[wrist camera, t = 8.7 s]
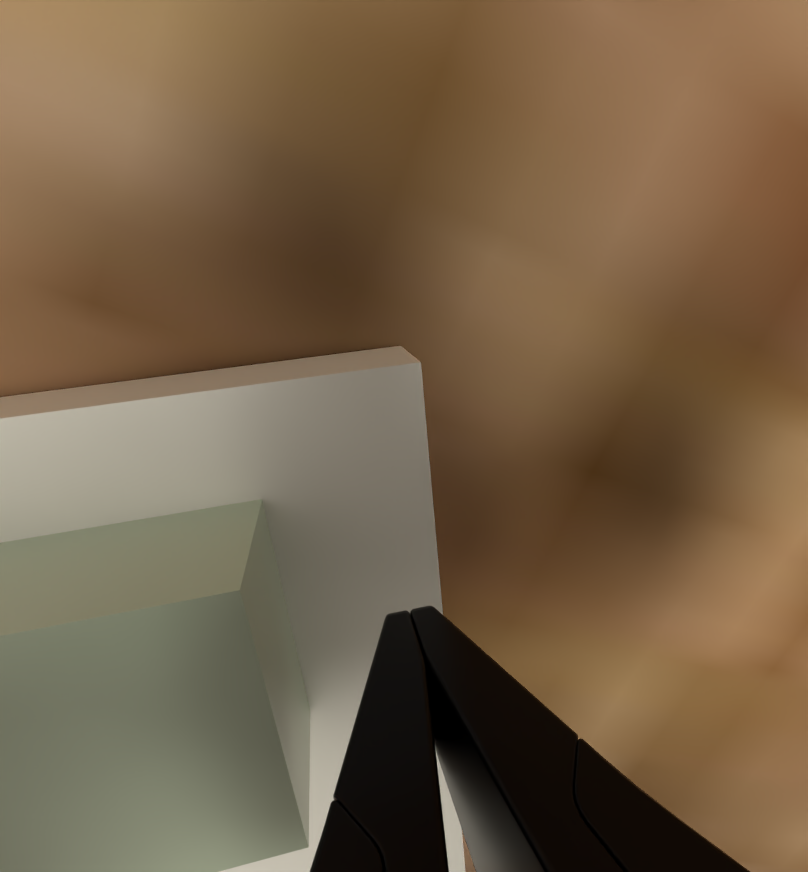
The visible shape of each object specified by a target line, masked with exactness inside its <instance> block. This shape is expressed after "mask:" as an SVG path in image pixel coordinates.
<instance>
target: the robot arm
mask: <svg viewBox="0 0 808 872" xmlns="http://www.w3.org/2000/svg"><path fill="white" fill-rule="evenodd" d="M436 753H437V756H438V759H439V763H440V766H441V769H442V772H443V774H444V777H445V780H446V783H447V786H448V789H449V792H450V795H451V798H452V801H453V804H454V807H455V810H456V813H457V816H458V819H459V822H460V825H461V828H462V831H463V834H464V837H465V840H466V843H467V846H468V849H469V852H470V855H471V858H472V861H473V864H474V867H475V870H476V872H750V871H749V870H747V869H746V868H744V867H743V866H742V865H740V864H739V863H738V862H736V861H735V860H734V859H732V858H731V857H730V856H728V855H727V854H726V853H724V852H723V851H722V850H720V849H719V848H718V847H716V846H715V845H714V844H712V843H711V842H709V841H708V840H707V839H705V838H704V837H703V836H701V835H700V834H699V833H697V832H696V831H695V830H693V829H692V828H691V827H689V826H688V825H687V824H685V823H684V822H683V821H681V820H680V819H679V818H677V817H676V816H675V815H673V814H672V813H671V812H670V811H668V810H667V809H666V808H664V807H663V806H662V805H661V804H659V803H658V802H657V801H655V800H654V799H653V798H652V797H650V796H649V795H648V794H646V793H645V792H644V791H643V790H641V789H640V788H639V787H637V786H636V785H635V784H634V783H633V782H632V781H630V780H629V779H628V778H627V777H626V776H625V775H623V774H622V773H621V772H620V771H619V770H617V769H616V768H615V767H614V766H613V765H612V764H610V763H609V762H608V761H607V760H606V759H604V758H603V757H602V756H601V755H600V754H599V753H598V752H597V751H595V750H594V749H593V748H592V747H591V746H590V745H589V744H588V743H587V742H585V741H584V740H583V739H579V740H578V735H577V734H576V733H575V732H574V731H573V730H572V729H571V728H569V727H568V726H567V725H566V724H565V723H564V722H563V721H562V720H560V719H559V718H558V717H557V716H556V715H555V714H554V713H553V712H551V711H550V710H549V709H548V708H547V707H546V706H545V705H544V704H542V703H541V702H540V701H539V700H538V699H537V698H536V697H535V696H534V695H532V694H531V693H530V692H529V691H528V690H527V689H526V688H525V687H523V686H522V685H521V684H520V683H519V682H518V681H517V680H516V679H514V678H513V677H512V676H511V675H510V674H509V673H508V672H507V671H505V670H504V669H503V668H502V667H501V666H500V665H499V664H498V663H496V662H495V661H494V660H493V659H492V658H491V657H490V656H489V655H487V654H486V653H485V652H484V651H483V650H482V649H481V648H480V647H478V646H477V645H476V644H475V643H474V642H473V641H472V640H471V639H470V638H468V637H467V636H466V635H465V634H464V633H463V632H462V631H461V630H459V629H458V628H457V627H456V626H455V625H454V624H453V623H452V622H450V621H449V620H448V619H447V618H446V617H445V616H444V615H443V614H441V613H440V612H439V611H438V610H437V609H436V608H435V607H433V606H424V607H419V608H414V609H412V610H411V611H410V613H409V612H408V611H407V610H404V611H399V612H394V613H389V614H387V615H386V617H385V620H384V623H383V627H382V630H381V633H380V637H379V640H378V644H377V647H376V651H375V654H374V657H373V661H372V664H371V668H370V671H369V675H368V678H367V681H366V685H365V688H364V692H363V695H362V699H361V702H360V706H359V709H358V712H357V716H356V719H355V723H354V726H353V730H352V733H351V736H350V740H349V743H348V747H347V750H346V754H345V757H344V760H343V764H342V767H341V771H340V774H339V778H338V781H337V784H336V788H335V791H334V795H333V799H334V800H333V801H332V802H331V804H330V807H329V811H328V814H327V818H326V821H325V825H324V828H323V831H322V835H321V838H320V841H319V844H318V847H317V850H316V853H315V856H314V859H313V862H312V866H311V869H310V872H449V867H448V858H447V849H446V840H445V831H444V822H443V813H442V804H441V795H440V785H439V776H438V767H437V758H436Z"/></svg>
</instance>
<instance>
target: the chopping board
mask: <svg viewBox="0 0 808 872" xmlns="http://www.w3.org/2000/svg"><path fill="white" fill-rule="evenodd" d="M260 499H262V501H263V505H264V509H265V514H266V518H267V522H268V527H269V531H270V536H271V540H272V544H273V549H274V553H275V557H276V562H277V566H278V571H279V575H280V579H281V584H282V588H283V592H284V597H285V601H286V606H287V610H288V614H289V619H290V623H291V627H292V632H293V636H294V641H295V645H296V649H297V654H298V658H299V662H300V667H301V671H302V675H303V680H304V684H305V689H306V693H307V697H308V702H309V706H310V710H311V714H310V787H309V847H308V848H305V849H301V850H297V851H293V852H290V853H286V854H282V855H278V856H275V857H271V858H267V859H264V860H260V861H256V862H252V863H249V864H245V865H241V866H238V867H234V868H230V869H226V870H223V871H219V872H310V869H311V866H312V862H313V859H314V856H315V853H316V850H317V847H318V844H319V841H320V838H321V835H322V831H323V828H324V825H325V821H326V818H327V814H328V811H329V807H330V804H331V802H332V801H333V800H334V799H333V795H334V791H335V788H336V784H337V781H338V778H339V774H340V771H341V767H342V764H343V760H344V757H345V754H346V750H347V747H348V743H349V740H350V736H351V733H352V730H353V726H354V723H355V719H356V716H357V712H358V709H359V706H360V702H361V699H362V695H363V692H364V688H365V685H366V681H367V678H368V675H369V671H370V668H371V664H372V661H373V657H374V654H375V651H376V647H377V644H378V640H379V637H380V633H381V630H382V627H383V623H384V620H385V617H386V615H387V614H389V613H394V612H399V611H404V610H407V611H408V612H409V613H410V611H411V610H412V609H414V608H419V607H424V606H433V607H435V608H436V609H437V610H438V611H439V612H440V613H441V614H443V609H442V598H441V586H440V575H439V563H438V552H437V540H436V529H435V517H434V506H433V494H432V483H431V472H430V460H429V449H428V437H427V426H426V414H425V403H424V391H423V380H422V368H421V362H420V361H419V360H418V359H416V358H415V357H414V356H413V355H411V354H410V353H409V352H408V351H407V350H405V349H404V348H403V347H402V346H394V347H387V348H379V349H371V350H363V351H356V352H348V353H340V354H332V355H324V356H317V357H309V358H301V359H293V360H285V361H278V362H270V363H262V364H254V365H247V366H239V367H231V368H223V369H215V370H208V371H200V372H192V373H184V374H177V375H169V376H161V377H153V378H145V379H138V380H130V381H122V382H114V383H106V384H99V385H91V386H83V387H75V388H68V389H60V390H52V391H44V392H36V393H29V394H21V395H13V396H5V397H0V543H2V542H8V541H14V540H20V539H26V538H32V537H38V536H44V535H50V534H56V533H62V532H68V531H74V530H80V529H86V528H92V527H98V526H104V525H110V524H116V523H122V522H128V521H134V520H140V519H146V518H152V517H158V516H164V515H170V514H176V513H182V512H188V511H194V510H200V509H206V508H212V507H218V506H224V505H230V504H236V503H242V502H248V501H254V500H260ZM436 758H437V767H438V776H439V785H440V795H441V804H442V813H443V822H444V831H445V840H446V849H447V858H448V867H449V872H465V861H464V849H463V838H462V828H461V825H460V822H459V819H458V816H457V813H456V810H455V807H454V804H453V801H452V798H451V795H450V792H449V789H448V786H447V783H446V780H445V777H444V774H443V772H442V769H441V766H440V763H439V759H438V756H437V753H436Z"/></svg>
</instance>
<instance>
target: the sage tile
mask: <svg viewBox="0 0 808 872" xmlns="http://www.w3.org/2000/svg"><path fill="white" fill-rule="evenodd" d="M310 714H311V710H310V706H309V702H308V697H307V693H306V689H305V684H304V680H303V675H302V671H301V667H300V662H299V658H298V654H297V649H296V645H295V641H294V636H293V632H292V627H291V623H290V619H289V614H288V610H287V606H286V601H285V597H284V592H283V588H282V584H281V579H280V575H279V571H278V566H277V562H276V557H275V553H274V549H273V544H272V540H271V536H270V531H269V527H268V522H267V518H266V514H265V509H264V505H263V501H262V499H260V500H254V501H248V502H242V503H236V504H230V505H224V506H218V507H212V508H206V509H200V510H194V511H188V512H182V513H176V514H170V515H164V516H158V517H152V518H146V519H140V520H134V521H128V522H122V523H116V524H110V525H104V526H98V527H92V528H86V529H80V530H74V531H68V532H62V533H56V534H50V535H44V536H38V537H32V538H26V539H20V540H14V541H8V542H2V543H0V872H219V871H223V870H226V869H230V868H234V867H238V866H241V865H245V864H249V863H252V862H256V861H260V860H264V859H267V858H271V857H275V856H278V855H282V854H286V853H290V852H293V851H297V850H301V849H305V848H308V847H309V787H310Z"/></svg>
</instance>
